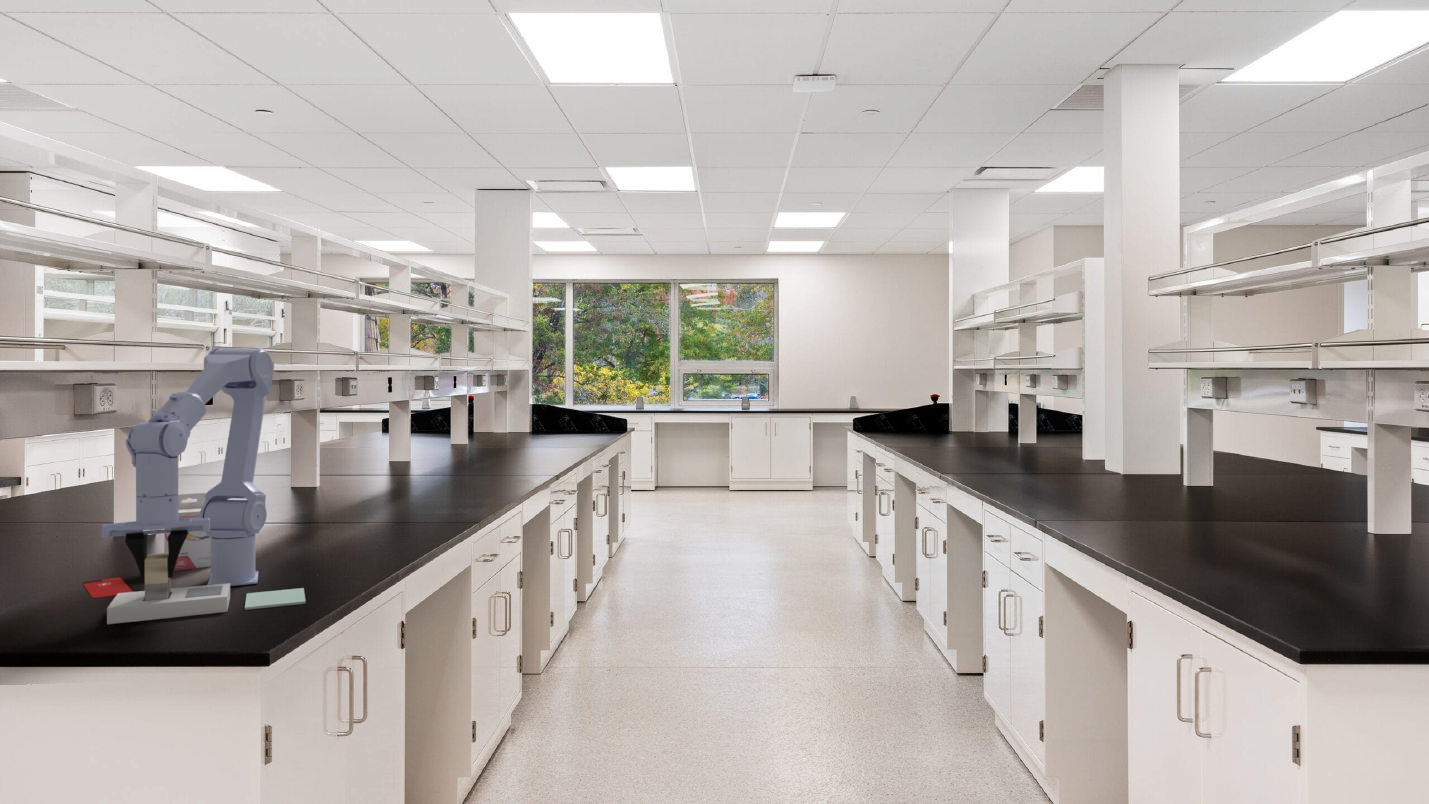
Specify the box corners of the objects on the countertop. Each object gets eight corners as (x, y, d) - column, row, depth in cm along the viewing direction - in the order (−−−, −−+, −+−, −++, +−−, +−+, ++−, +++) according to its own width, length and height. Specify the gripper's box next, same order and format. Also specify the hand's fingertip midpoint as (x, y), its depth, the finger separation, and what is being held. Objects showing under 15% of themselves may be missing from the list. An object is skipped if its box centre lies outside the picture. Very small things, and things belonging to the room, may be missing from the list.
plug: (148, 596, 134) (148, 554, 134) (170, 594, 136) (170, 552, 135) (144, 603, 130) (144, 560, 130) (167, 601, 132) (167, 558, 131)
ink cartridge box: (170, 572, 160) (170, 497, 160) (163, 568, 163) (163, 495, 163) (219, 565, 166) (219, 494, 166) (211, 561, 170) (211, 491, 169)
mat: (246, 595, 143) (246, 593, 143) (303, 590, 148) (303, 587, 148) (244, 609, 135) (244, 607, 135) (305, 603, 139) (305, 601, 139)
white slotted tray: (118, 608, 135) (118, 592, 135) (230, 597, 142) (230, 582, 142) (107, 624, 126) (107, 607, 126) (227, 611, 133) (227, 596, 133)
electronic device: (133, 595, 144) (119, 579, 155) (133, 591, 144) (119, 576, 155) (92, 600, 140) (81, 584, 151) (92, 597, 140) (81, 581, 151)
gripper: (97, 500, 126) (98, 588, 126) (207, 495, 132) (208, 578, 133) (106, 494, 132) (106, 578, 132) (210, 490, 139) (211, 569, 139)
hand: (157, 577), depth 133 cm, fingers closed on plug, 3 cm apart
